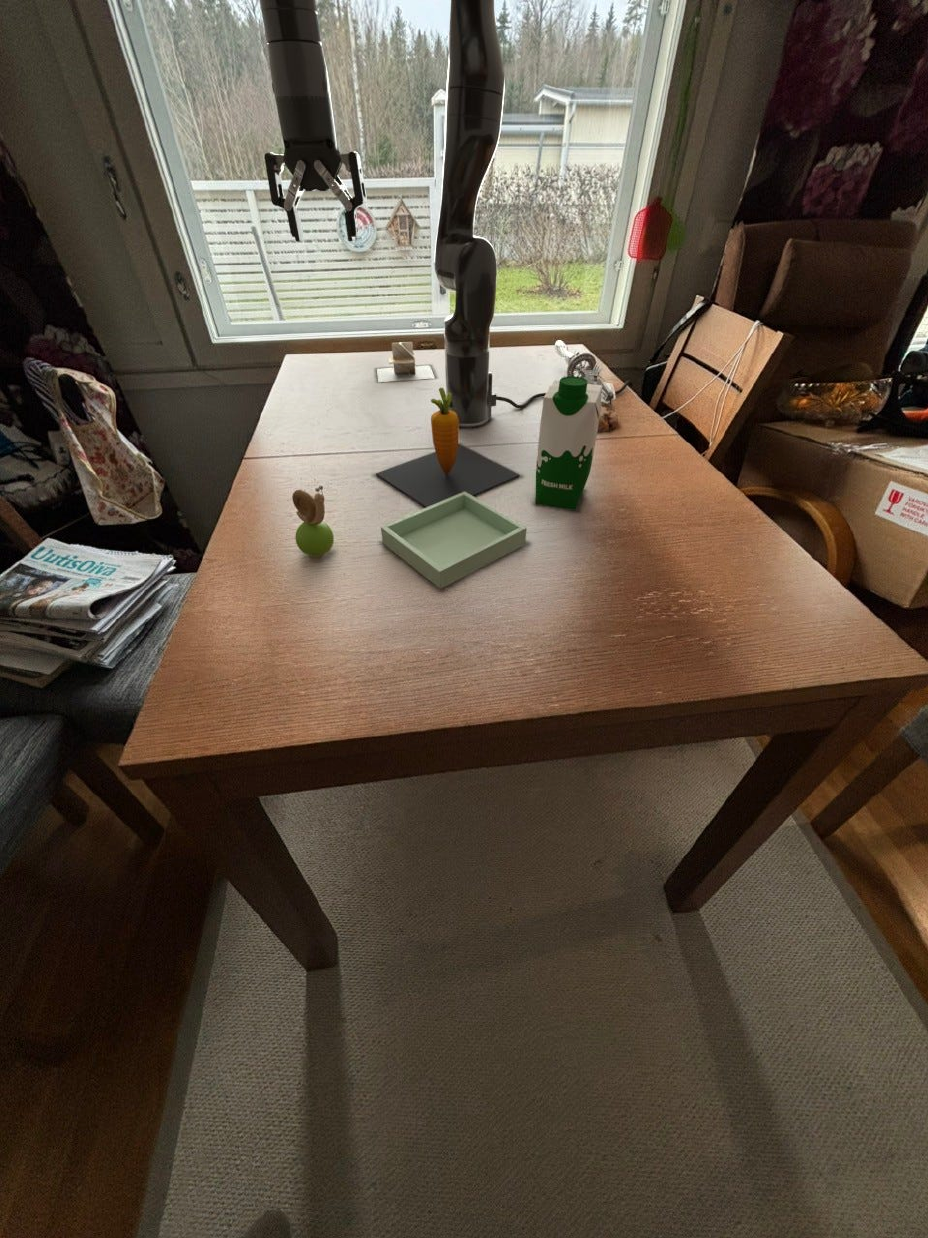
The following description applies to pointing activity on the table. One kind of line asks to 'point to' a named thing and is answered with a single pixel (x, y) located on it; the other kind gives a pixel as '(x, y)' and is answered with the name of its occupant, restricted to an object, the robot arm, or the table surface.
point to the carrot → (445, 432)
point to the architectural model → (404, 365)
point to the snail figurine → (312, 523)
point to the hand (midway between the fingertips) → (325, 240)
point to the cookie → (607, 420)
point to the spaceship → (585, 370)
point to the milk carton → (566, 441)
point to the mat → (446, 477)
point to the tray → (453, 538)
